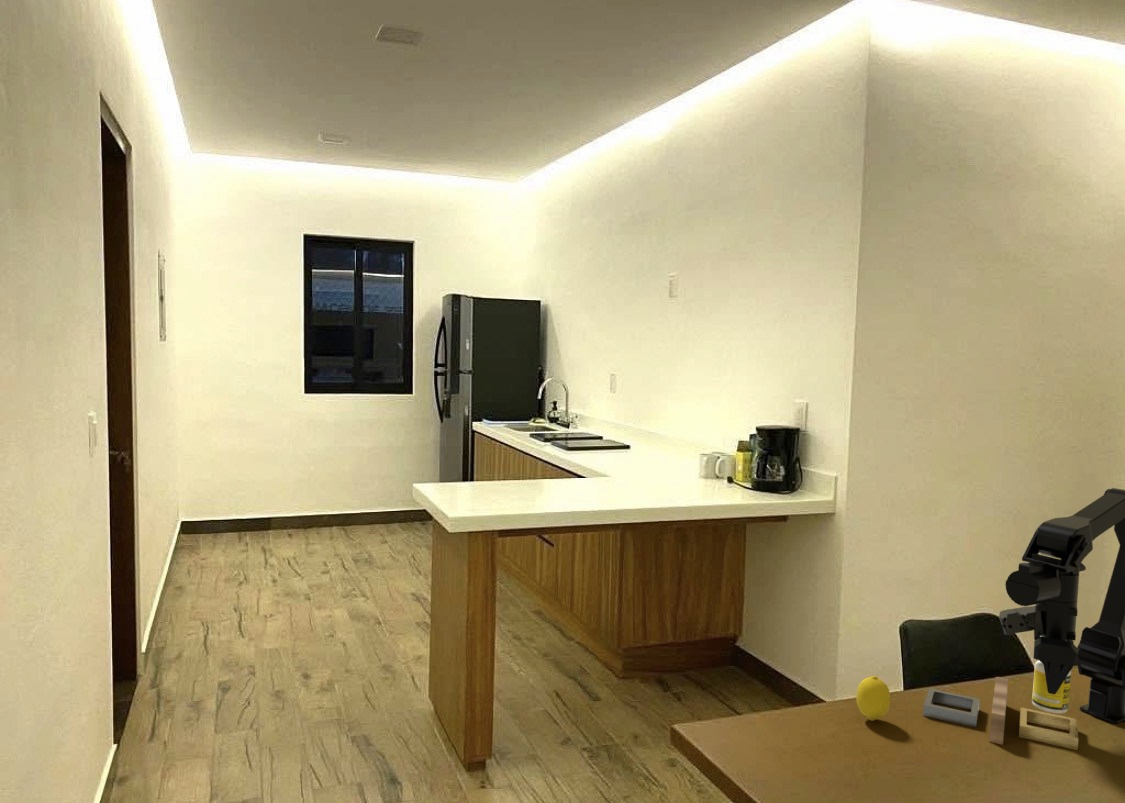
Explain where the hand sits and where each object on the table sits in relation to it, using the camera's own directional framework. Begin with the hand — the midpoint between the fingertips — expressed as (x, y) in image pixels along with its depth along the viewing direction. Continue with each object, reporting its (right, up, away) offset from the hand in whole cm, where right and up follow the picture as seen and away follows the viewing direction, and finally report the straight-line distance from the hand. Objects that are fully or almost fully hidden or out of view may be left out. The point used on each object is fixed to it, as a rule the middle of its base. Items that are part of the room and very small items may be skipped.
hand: (1051, 687), depth 145 cm
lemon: (-29, -7, +4) cm, 30 cm away
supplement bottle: (0, -4, 0) cm, 4 cm away
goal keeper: (0, -8, +1) cm, 8 cm away
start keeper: (-13, -7, +8) cm, 17 cm away
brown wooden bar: (-7, -8, +4) cm, 11 cm away
